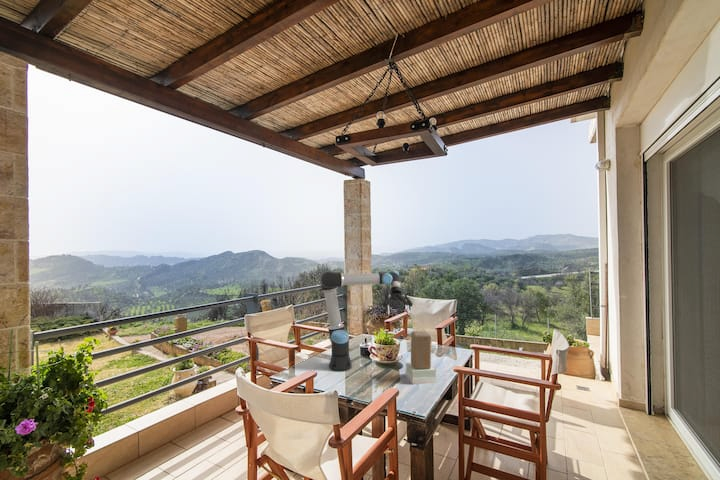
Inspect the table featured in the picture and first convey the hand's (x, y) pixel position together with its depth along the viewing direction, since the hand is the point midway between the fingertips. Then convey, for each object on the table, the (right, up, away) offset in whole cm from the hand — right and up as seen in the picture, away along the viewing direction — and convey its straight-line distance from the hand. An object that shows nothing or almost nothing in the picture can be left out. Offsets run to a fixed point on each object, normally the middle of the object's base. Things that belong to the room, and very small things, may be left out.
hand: (399, 314), depth 217 cm
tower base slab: (+11, -35, -21) cm, 42 cm away
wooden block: (+11, -27, -20) cm, 35 cm away
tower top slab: (+11, -31, -20) cm, 38 cm away
